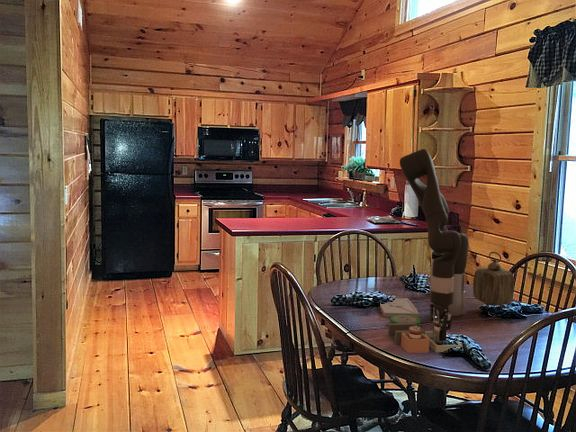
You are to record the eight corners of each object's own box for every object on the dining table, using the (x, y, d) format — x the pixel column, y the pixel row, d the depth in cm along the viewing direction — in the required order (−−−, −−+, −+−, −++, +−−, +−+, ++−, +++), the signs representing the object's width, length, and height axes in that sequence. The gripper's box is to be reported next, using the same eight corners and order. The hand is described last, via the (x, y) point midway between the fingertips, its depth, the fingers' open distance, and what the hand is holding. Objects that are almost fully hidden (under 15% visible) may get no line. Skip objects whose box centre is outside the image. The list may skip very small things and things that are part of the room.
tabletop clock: (512, 315, 219) (516, 254, 215) (494, 317, 215) (498, 256, 212) (487, 305, 232) (491, 248, 229) (470, 307, 229) (473, 249, 226)
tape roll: (384, 325, 204) (385, 319, 204) (399, 319, 212) (400, 312, 212) (410, 332, 197) (411, 325, 196) (425, 325, 205) (425, 319, 204)
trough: (444, 338, 191) (444, 330, 190) (462, 352, 177) (462, 345, 177) (419, 338, 190) (420, 331, 189) (436, 353, 176) (436, 346, 175)
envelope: (407, 302, 237) (376, 301, 237) (407, 297, 237) (376, 296, 237) (419, 318, 213) (384, 317, 214) (419, 313, 213) (384, 312, 213)
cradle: (412, 334, 194) (412, 320, 194) (424, 345, 183) (425, 331, 182) (385, 334, 193) (386, 321, 192) (395, 346, 182) (396, 332, 181)
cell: (431, 339, 186) (432, 317, 185) (442, 338, 187) (443, 317, 186) (436, 343, 182) (437, 321, 181) (447, 343, 182) (448, 321, 182)
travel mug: (445, 293, 250) (447, 251, 247) (441, 296, 244) (443, 253, 242) (432, 291, 253) (434, 249, 251) (427, 294, 248) (430, 251, 245)
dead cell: (418, 346, 181) (419, 324, 180) (422, 350, 177) (424, 328, 176) (406, 346, 180) (407, 324, 179) (410, 351, 176) (411, 328, 175)
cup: (420, 346, 182) (421, 332, 182) (428, 354, 175) (429, 339, 175) (400, 346, 181) (401, 332, 181) (408, 354, 175) (408, 340, 174)
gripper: (423, 283, 188) (421, 331, 191) (440, 295, 174) (437, 345, 177) (443, 283, 189) (441, 330, 192) (462, 294, 175) (459, 345, 178)
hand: (439, 337), depth 184 cm, fingers open, 4 cm apart
